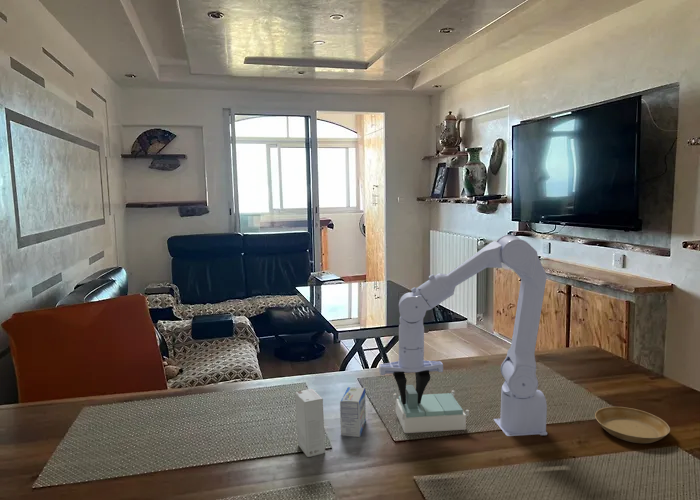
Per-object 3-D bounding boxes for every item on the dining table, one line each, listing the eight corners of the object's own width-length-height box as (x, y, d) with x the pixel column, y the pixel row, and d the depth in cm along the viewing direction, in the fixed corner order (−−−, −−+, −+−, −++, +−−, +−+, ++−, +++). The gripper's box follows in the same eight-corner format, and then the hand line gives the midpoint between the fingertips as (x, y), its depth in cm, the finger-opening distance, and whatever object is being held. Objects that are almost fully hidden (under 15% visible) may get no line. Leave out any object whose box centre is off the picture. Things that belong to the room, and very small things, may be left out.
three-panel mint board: (450, 397, 122) (451, 379, 121) (462, 414, 113) (463, 395, 112) (398, 399, 121) (398, 382, 120) (406, 417, 112) (406, 398, 111)
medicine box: (360, 439, 110) (359, 402, 109) (340, 437, 111) (339, 400, 110) (366, 422, 118) (365, 387, 117) (347, 420, 119) (347, 386, 118)
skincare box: (326, 453, 105) (325, 398, 103) (305, 458, 103) (304, 402, 101) (315, 439, 110) (314, 387, 109) (295, 444, 108) (294, 391, 107)
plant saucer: (592, 439, 110) (593, 427, 110) (595, 411, 123) (596, 401, 123) (672, 456, 103) (673, 444, 103) (666, 425, 116) (667, 414, 116)
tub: (453, 410, 124) (453, 390, 123) (468, 432, 113) (469, 410, 112) (393, 413, 122) (393, 393, 121) (402, 436, 111) (403, 414, 110)
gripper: (437, 338, 119) (436, 393, 121) (377, 341, 117) (377, 396, 119) (446, 348, 112) (445, 406, 114) (382, 351, 110) (382, 409, 112)
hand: (410, 402), depth 116 cm, fingers open, 3 cm apart
